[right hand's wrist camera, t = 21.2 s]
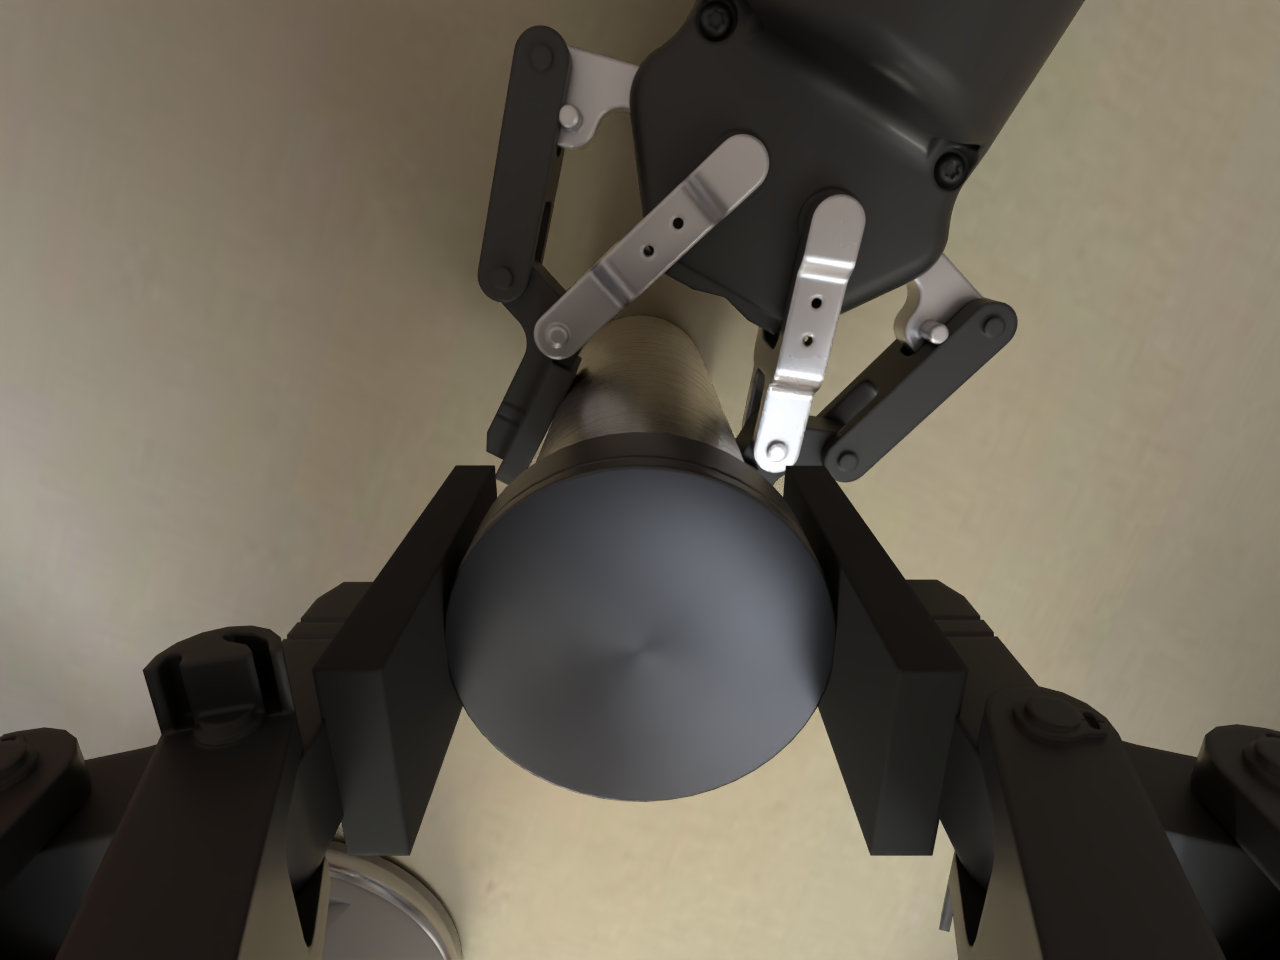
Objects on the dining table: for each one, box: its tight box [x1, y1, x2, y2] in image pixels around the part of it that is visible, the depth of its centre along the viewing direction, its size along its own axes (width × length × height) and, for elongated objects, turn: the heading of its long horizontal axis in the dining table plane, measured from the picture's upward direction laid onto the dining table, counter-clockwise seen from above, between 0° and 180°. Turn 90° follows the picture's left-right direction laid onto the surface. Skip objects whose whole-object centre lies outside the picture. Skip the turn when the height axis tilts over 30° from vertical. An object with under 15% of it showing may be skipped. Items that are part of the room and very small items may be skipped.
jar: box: [536, 315, 744, 462], centre depth 19 cm, size 5×5×16 cm
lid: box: [444, 432, 837, 802], centre depth 11 cm, size 6×6×2 cm
